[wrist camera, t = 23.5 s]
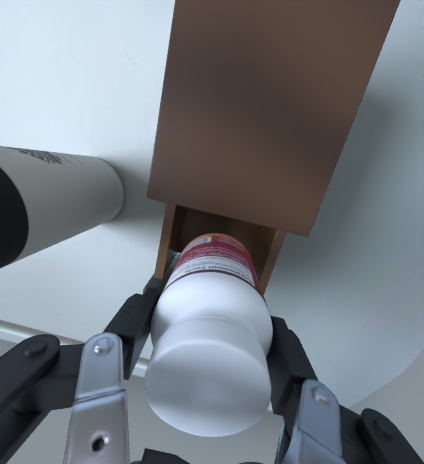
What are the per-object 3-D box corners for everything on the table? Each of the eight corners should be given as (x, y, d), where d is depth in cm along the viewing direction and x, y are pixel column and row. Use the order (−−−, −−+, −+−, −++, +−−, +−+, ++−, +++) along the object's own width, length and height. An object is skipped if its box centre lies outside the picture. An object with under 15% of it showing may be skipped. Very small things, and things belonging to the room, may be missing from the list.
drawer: (238, 320, 28) (243, 373, 21) (157, 301, 28) (133, 348, 21) (284, 180, 23) (314, 184, 16) (184, 155, 23) (166, 147, 15)
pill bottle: (235, 304, 19) (252, 469, 8) (172, 283, 19) (106, 426, 8) (262, 245, 17) (326, 358, 7) (192, 220, 17) (144, 298, 6)
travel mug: (113, 233, 27) (-87, 345, 9) (53, 204, 26) (-278, 270, 9) (134, 176, 25) (-72, 187, 7) (71, 143, 24) (-326, 70, 7)
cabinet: (276, 212, 25) (308, 236, 16) (174, 188, 25) (146, 197, 16) (322, 74, 21) (402, -3, 12) (201, 42, 21) (183, -62, 11)
